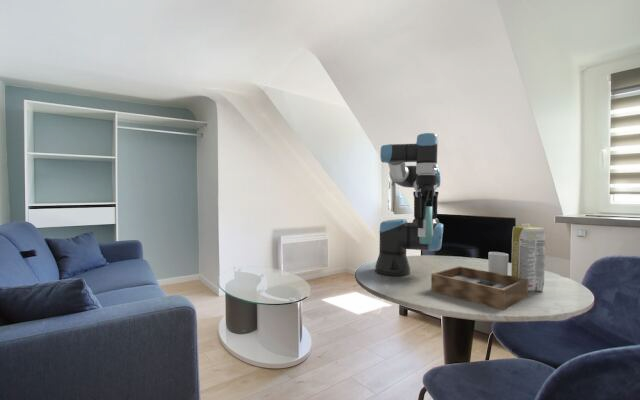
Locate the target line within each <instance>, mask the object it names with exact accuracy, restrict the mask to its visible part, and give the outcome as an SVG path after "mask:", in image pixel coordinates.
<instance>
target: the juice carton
mask: <svg viewBox="0 0 640 400" xmlns="http://www.w3.org/2000/svg"><path fill="white" fill-rule="evenodd" d="M545 230H546V229H545V228H544V227H539V226H531V224H530V223H521V226H513V227H512V235H511V236H512V237H511V268H510V269H511V271H510V273H511V275H510V276H514V277H519V278H524V279H528V292H543V291H544V286H545V270H546V269H545V266H546V265H545V261H546V231H545Z"/></svg>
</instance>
